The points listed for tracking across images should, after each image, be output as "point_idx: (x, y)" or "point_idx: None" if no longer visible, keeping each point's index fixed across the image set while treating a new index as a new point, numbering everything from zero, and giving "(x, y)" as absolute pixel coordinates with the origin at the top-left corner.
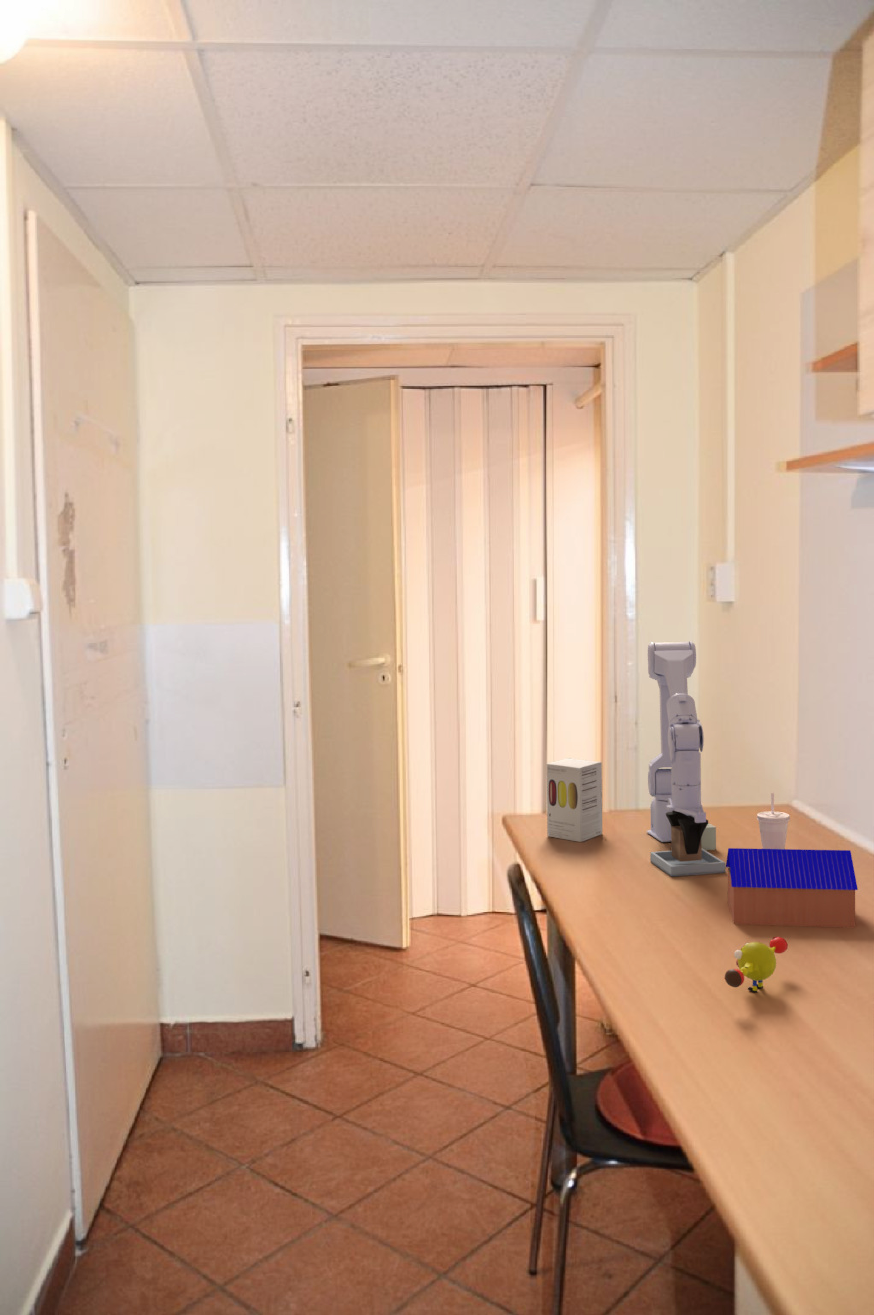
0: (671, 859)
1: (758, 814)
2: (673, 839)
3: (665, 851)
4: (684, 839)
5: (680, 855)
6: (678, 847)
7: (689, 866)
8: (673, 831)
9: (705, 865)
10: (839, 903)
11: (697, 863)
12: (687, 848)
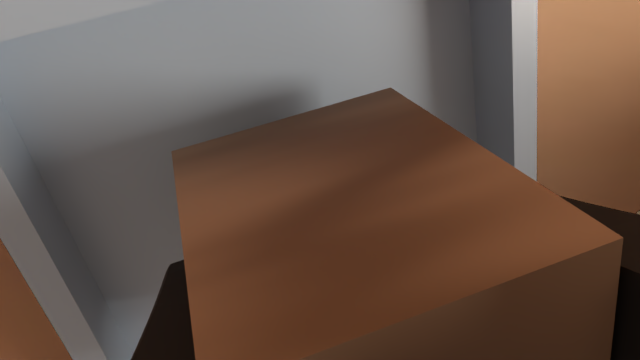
0: (463, 80)
1: None
2: (421, 177)
3: (525, 44)
4: (180, 358)
5: (176, 183)
6: (229, 203)
7: (2, 230)
8: (482, 240)
9: (75, 354)
10: None
11: None
12: (155, 307)
